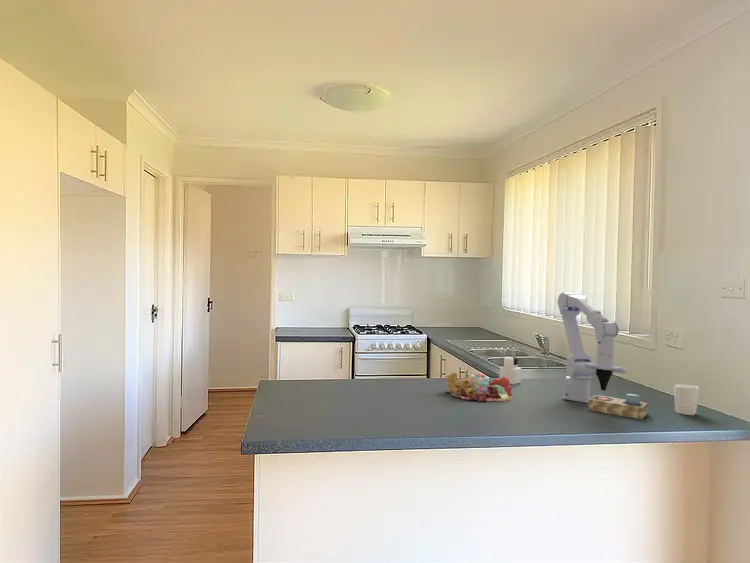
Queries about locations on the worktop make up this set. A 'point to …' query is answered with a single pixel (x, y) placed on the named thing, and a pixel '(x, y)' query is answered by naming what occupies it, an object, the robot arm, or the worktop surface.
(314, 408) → the worktop surface
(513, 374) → the medicine bottle
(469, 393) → the assorted food platter
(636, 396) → the blue peg
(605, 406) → the peg block
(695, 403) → the white cup
